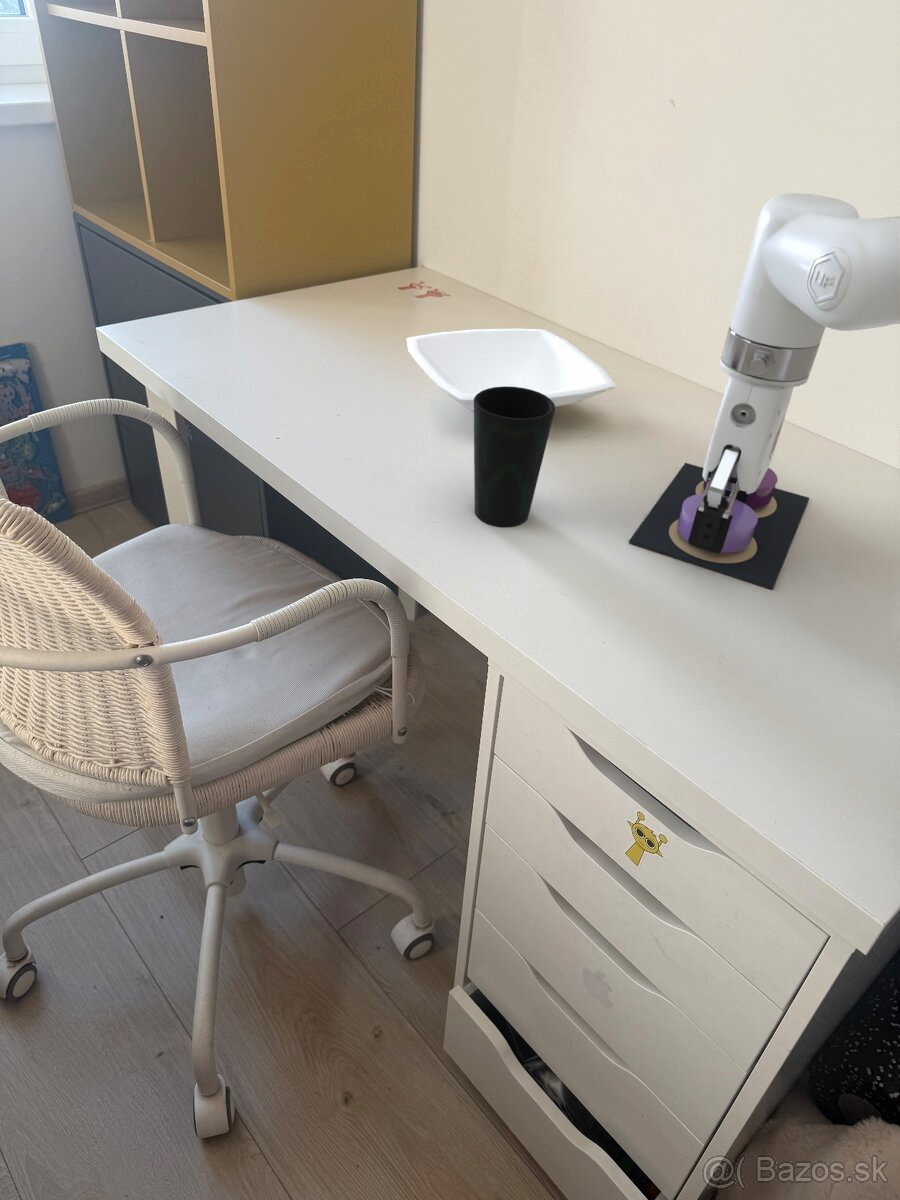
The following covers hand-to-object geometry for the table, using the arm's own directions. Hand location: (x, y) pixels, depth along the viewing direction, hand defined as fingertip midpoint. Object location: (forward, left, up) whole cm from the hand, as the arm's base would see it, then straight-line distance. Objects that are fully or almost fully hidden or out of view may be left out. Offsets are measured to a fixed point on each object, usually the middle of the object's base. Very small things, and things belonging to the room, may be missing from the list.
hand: (715, 527), depth 82 cm
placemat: (0, -5, -2) cm, 5 cm away
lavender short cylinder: (0, 0, -1) cm, 1 cm away
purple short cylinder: (0, -10, -1) cm, 10 cm away
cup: (+20, +7, -2) cm, 21 cm away
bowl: (+32, -18, -2) cm, 37 cm away
